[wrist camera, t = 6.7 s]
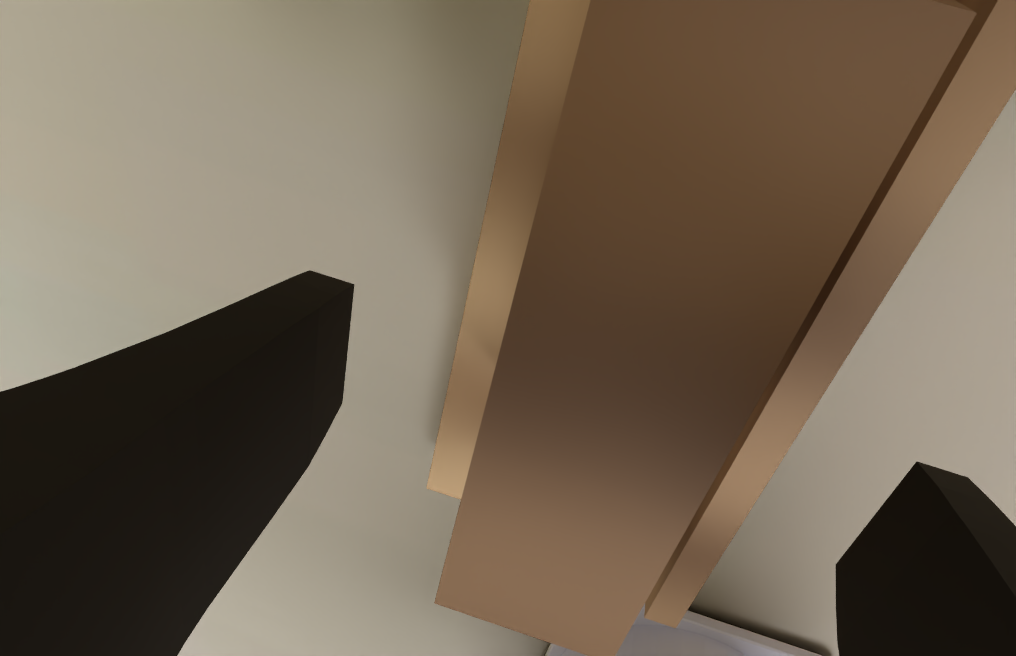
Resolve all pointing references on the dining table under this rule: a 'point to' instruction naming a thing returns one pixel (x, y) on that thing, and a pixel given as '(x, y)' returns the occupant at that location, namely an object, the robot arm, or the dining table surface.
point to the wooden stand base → (824, 332)
